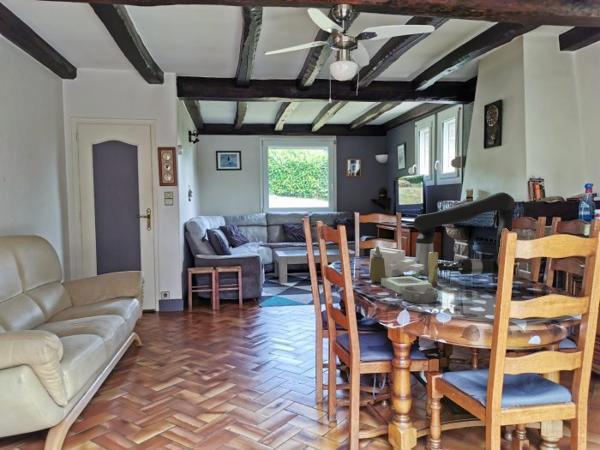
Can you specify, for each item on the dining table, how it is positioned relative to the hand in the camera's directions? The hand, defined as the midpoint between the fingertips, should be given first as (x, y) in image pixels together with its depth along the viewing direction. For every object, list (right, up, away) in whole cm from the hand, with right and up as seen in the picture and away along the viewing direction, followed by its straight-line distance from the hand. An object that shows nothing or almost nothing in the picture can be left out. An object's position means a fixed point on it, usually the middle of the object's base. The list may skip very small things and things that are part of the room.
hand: (436, 266), depth 206 cm
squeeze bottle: (-26, -9, +11) cm, 30 cm away
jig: (-16, -10, -6) cm, 20 cm away
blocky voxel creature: (-13, -8, +27) cm, 31 cm away
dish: (-16, -11, -29) cm, 35 cm away
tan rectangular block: (-2, -9, +1) cm, 9 cm away
